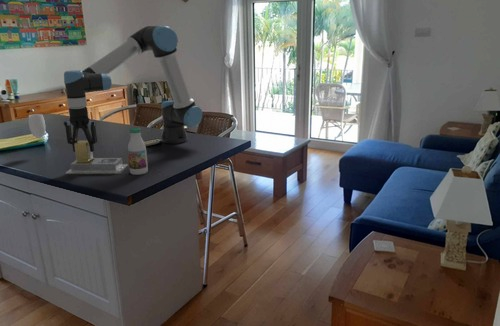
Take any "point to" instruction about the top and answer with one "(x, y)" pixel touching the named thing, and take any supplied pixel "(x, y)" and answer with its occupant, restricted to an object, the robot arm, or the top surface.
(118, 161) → the butter dish
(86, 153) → the block
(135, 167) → the milk bottle
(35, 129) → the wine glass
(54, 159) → the top surface
